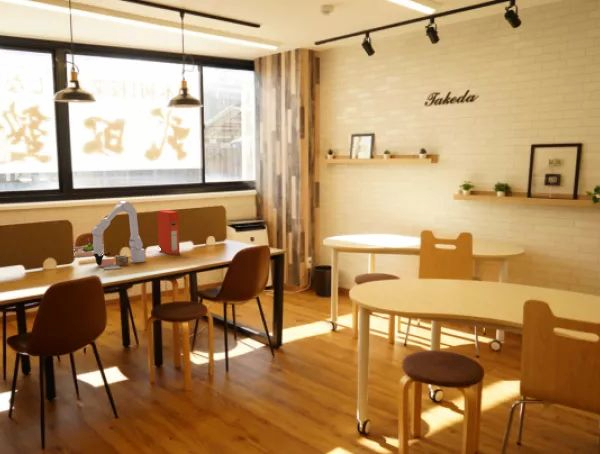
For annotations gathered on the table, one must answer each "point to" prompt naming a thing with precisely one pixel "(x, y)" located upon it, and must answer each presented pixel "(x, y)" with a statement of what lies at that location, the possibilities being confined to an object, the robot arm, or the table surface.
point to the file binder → (168, 231)
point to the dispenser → (122, 260)
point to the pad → (111, 267)
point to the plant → (87, 248)
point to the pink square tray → (83, 252)
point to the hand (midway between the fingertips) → (98, 264)
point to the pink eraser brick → (107, 262)
